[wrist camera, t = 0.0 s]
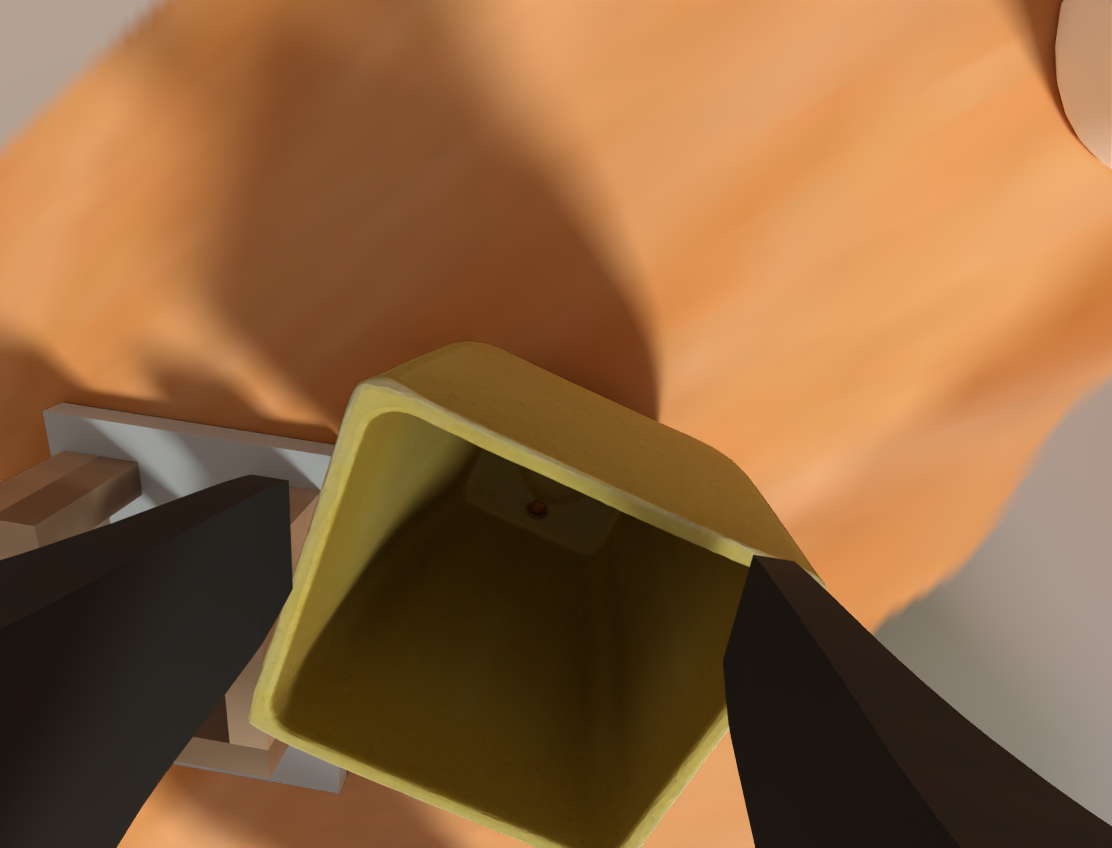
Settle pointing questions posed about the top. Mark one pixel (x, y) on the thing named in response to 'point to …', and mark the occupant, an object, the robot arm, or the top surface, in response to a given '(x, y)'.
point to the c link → (87, 503)
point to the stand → (184, 468)
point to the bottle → (1087, 72)
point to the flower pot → (516, 601)
